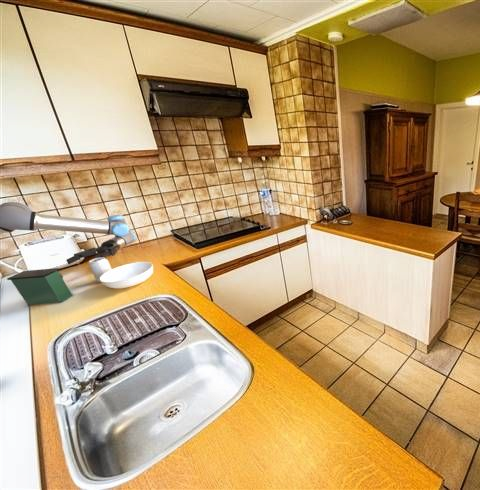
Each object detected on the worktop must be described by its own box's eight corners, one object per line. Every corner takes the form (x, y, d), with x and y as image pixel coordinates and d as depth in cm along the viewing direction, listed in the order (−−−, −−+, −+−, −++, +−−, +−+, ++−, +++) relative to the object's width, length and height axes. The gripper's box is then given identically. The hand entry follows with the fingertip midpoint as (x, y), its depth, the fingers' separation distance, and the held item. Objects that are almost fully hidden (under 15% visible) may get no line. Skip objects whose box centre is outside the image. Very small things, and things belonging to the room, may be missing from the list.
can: (114, 274, 146) (105, 255, 141) (117, 278, 142) (107, 258, 137) (96, 280, 141) (85, 260, 136) (98, 284, 136) (87, 264, 132)
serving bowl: (104, 299, 123) (97, 286, 121) (107, 282, 138) (101, 270, 136) (158, 282, 135) (153, 271, 132) (155, 268, 150) (151, 257, 147)
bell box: (25, 306, 121) (6, 278, 115) (41, 297, 128) (24, 270, 122) (60, 303, 122) (43, 275, 116) (74, 294, 129) (59, 267, 123)
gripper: (137, 249, 163) (109, 265, 143) (93, 252, 161) (60, 269, 141) (132, 237, 160) (103, 252, 140) (88, 241, 158) (52, 256, 138)
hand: (81, 260), depth 141 cm, fingers open, 13 cm apart
